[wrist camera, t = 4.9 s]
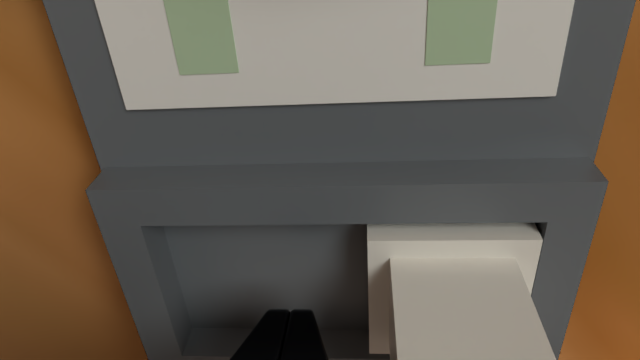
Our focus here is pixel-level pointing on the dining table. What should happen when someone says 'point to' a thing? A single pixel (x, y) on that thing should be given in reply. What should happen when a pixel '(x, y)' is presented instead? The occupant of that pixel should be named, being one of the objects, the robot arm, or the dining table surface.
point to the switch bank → (330, 147)
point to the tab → (454, 291)
